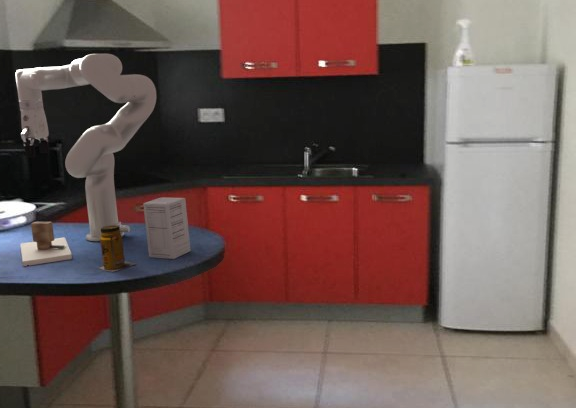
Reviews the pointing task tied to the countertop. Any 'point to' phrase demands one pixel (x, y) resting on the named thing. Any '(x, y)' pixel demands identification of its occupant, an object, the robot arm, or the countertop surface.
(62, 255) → the white rectangular slab
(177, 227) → the supplement box
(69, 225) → the countertop surface
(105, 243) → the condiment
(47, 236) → the brown piece
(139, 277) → the countertop surface
